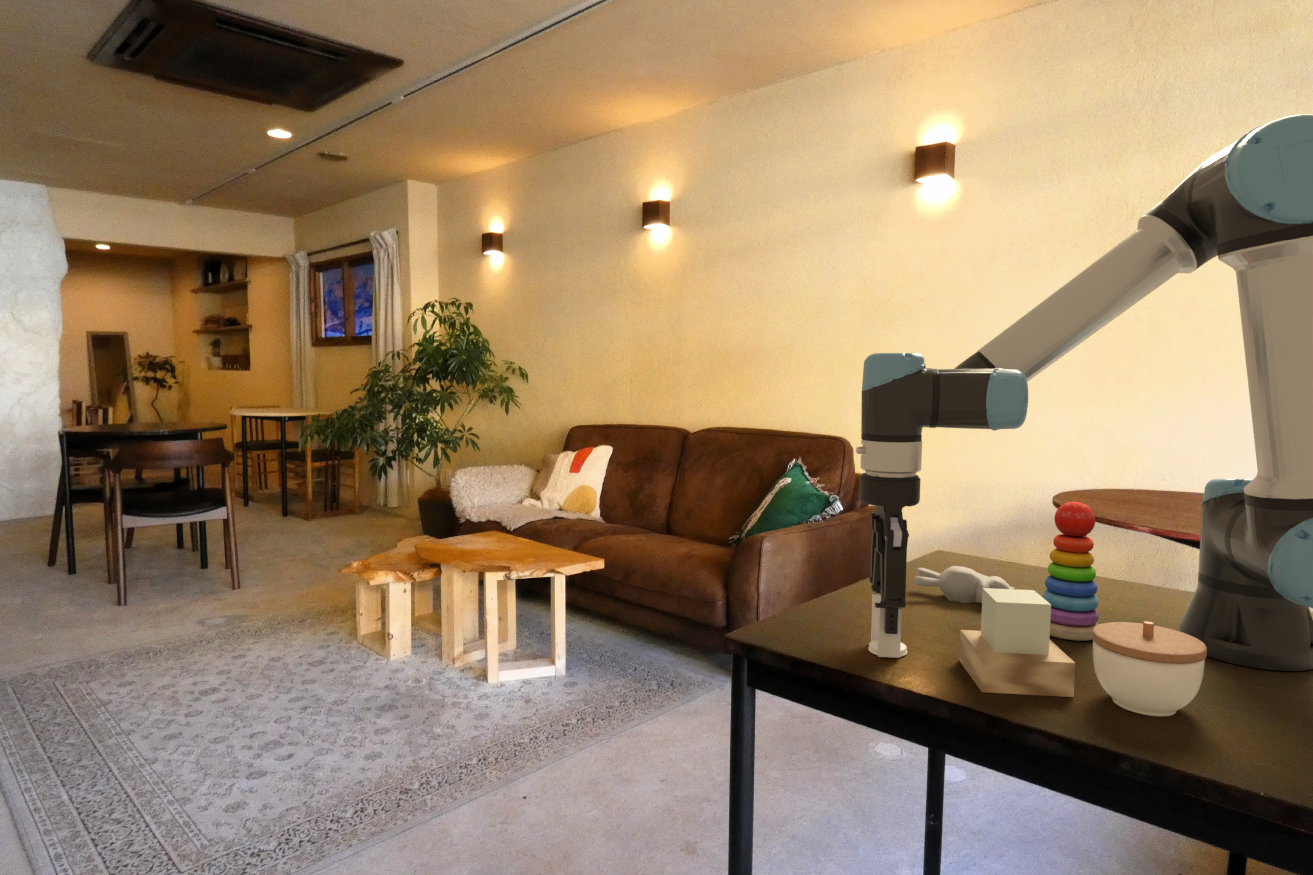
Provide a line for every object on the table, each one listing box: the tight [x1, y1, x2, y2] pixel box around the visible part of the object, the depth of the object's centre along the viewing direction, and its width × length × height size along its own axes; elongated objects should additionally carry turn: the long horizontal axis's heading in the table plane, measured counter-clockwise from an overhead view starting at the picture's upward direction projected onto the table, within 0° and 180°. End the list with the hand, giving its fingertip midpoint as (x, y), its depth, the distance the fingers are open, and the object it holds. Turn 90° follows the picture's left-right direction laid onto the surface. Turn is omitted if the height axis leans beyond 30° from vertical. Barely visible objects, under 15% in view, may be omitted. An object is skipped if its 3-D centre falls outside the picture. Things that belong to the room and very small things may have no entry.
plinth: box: [958, 629, 1076, 698], centre depth 94 cm, size 10×10×4 cm
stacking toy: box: [1042, 501, 1100, 642], centre depth 110 cm, size 8×8×19 cm
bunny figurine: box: [913, 565, 1015, 604], centre depth 127 cm, size 10×5×15 cm
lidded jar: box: [1092, 620, 1207, 718], centre depth 87 cm, size 11×11×9 cm
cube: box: [980, 588, 1051, 655], centre depth 94 cm, size 6×6×6 cm
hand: (885, 648), depth 103 cm, fingers closed on chess piece, 5 cm apart
